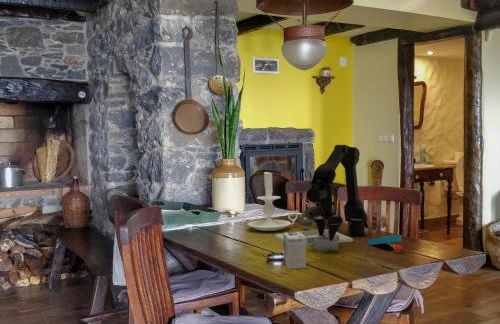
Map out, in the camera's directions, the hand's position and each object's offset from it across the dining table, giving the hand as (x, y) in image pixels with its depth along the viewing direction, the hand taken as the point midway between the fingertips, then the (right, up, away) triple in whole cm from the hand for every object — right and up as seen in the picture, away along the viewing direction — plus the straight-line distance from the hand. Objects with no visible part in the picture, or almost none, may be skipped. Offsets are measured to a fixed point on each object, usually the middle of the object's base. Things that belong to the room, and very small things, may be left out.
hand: (325, 238), depth 217 cm
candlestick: (-19, -2, +45) cm, 48 cm away
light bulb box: (-14, -7, -22) cm, 27 cm away
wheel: (-5, +3, +27) cm, 28 cm away
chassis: (-3, -3, +20) cm, 21 cm away
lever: (+24, -4, -1) cm, 25 cm away
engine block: (0, -5, 0) cm, 5 cm away
